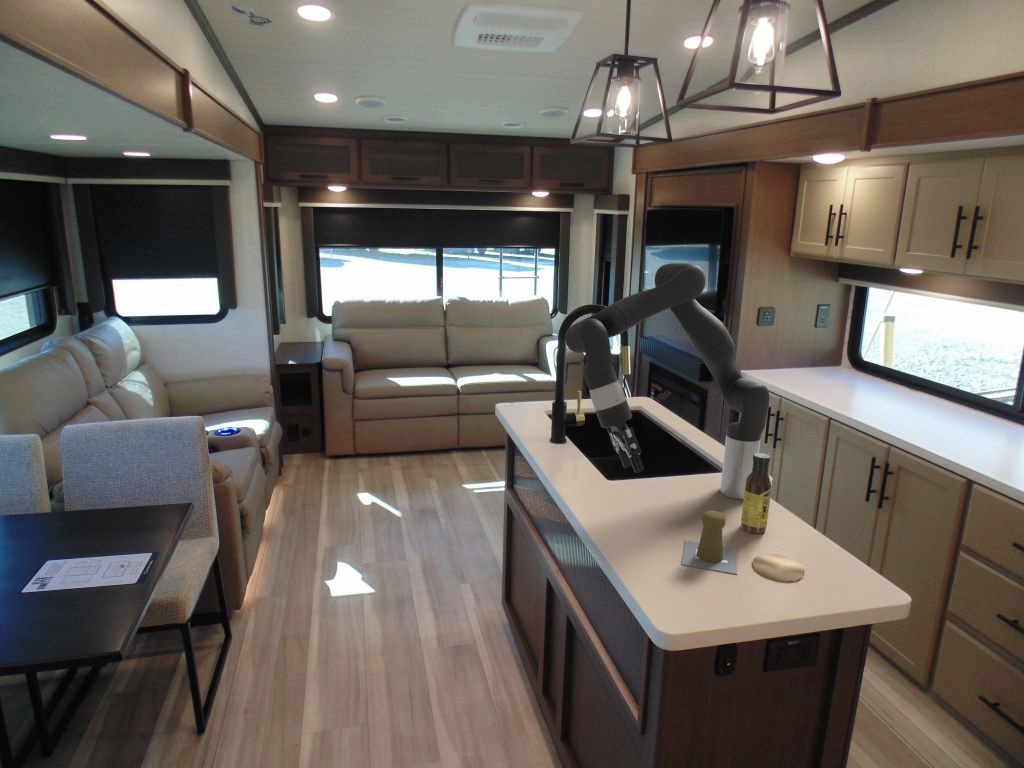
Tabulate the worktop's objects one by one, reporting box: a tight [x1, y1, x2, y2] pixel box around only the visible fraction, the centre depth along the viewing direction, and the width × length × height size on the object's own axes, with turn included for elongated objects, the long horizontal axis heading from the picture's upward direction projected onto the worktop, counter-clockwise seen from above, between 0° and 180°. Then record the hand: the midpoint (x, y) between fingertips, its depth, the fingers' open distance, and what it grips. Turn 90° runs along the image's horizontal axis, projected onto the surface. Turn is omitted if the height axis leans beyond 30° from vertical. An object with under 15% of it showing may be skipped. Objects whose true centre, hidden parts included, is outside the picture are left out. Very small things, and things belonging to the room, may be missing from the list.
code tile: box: [681, 540, 738, 575], centre depth 157 cm, size 12×12×1 cm
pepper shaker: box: [697, 510, 726, 563], centre depth 155 cm, size 6×6×11 cm
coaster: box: [752, 553, 805, 583], centre depth 152 cm, size 11×11×1 cm
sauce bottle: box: [740, 452, 773, 534], centre depth 169 cm, size 7×6×20 cm
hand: (634, 469), depth 154 cm, fingers open, 8 cm apart
